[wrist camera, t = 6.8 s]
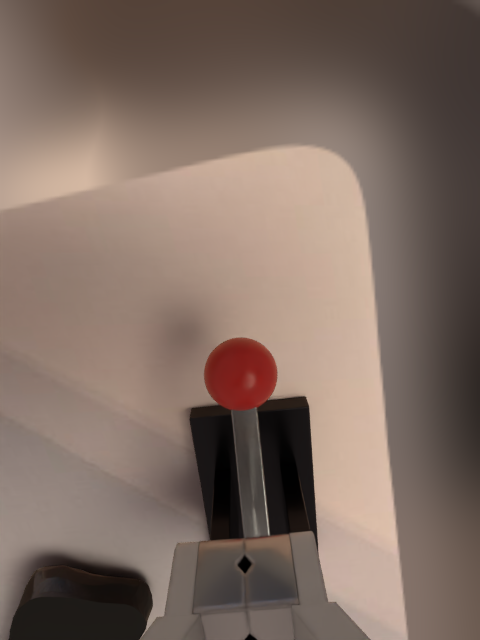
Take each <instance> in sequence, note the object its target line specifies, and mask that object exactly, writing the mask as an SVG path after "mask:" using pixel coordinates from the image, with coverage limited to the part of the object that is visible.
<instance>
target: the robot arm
mask: <svg viewBox="0 0 480 640" xmlns="http://www.w3.org/2000/svg"><path fill="white" fill-rule="evenodd" d="M140 640H370V639H369V638H368V637H367V635H366V634H365V633H364V632H363V631H362V630H361V629H360V628H359V627H358V626H357V625H356V624H355V622H354V621H353V620H352V619H351V618H350V617H349V616H348V615H347V614H346V613H345V612H344V611H343V609H342V608H341V607H340V606H339V605H338V604H337V603H336V602H328V599H327V594H326V589H325V584H324V580H323V575H322V570H321V565H320V560H319V556H318V551H317V546H316V541H315V537H314V534H313V532H312V531H306V532H296V533H290V534H289V533H284V534H274V535H264V536H255V537H245V538H240V539H225V540H209V541H199V542H185V543H177V545H176V548H175V550H174V557H173V563H172V570H171V576H170V582H169V589H168V595H167V601H166V608H165V614H164V617H157V618H156V619H155V621H154V622H153V623H152V625H151V626H150V627H149V629H148V630H147V631H146V632H145V634H144V635H143V636H142V638H141V639H140Z"/></svg>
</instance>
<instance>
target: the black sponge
mask: <svg viewBox="0 0 480 640" xmlns="http://www.w3.org/2000/svg"><path fill="white" fill-rule="evenodd" d="M152 607H153V600H152V594H151V592H150V589H149V586H148V585H147V584H146V583H145V582H142V581H140V580H138V579H131V578H123V577H110V576H101V575H96V574H91V573H88V572H85V571H83V570H80V569H75V568H71V567H68V566H65V565H59V566H48V567H43V568H39V569H37V570H36V571H35V572H34V573H33V575H32V576H31V578H30V580H29V582H28V584H27V585H26V587H25V590H24V593H23V596H22V599H21V602H20V604H19V607H18V609H17V611H16V613H15V615H14V617H13V621H12V625H11V629H10V636H9V640H139V639H140V638H141V636H142V634H143V633H144V631H145V629H146V625H147V620H148V618H149V615H150V612H151V610H152Z"/></svg>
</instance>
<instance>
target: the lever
mask: <svg viewBox="0 0 480 640" xmlns="http://www.w3.org/2000/svg"><path fill="white" fill-rule="evenodd" d="M204 380H205V384H206V388H207V390H208V392H209V394H210V395H211V397H212V398H213V399H214V400H215V401H216V402H217V403H218V404H219V405H221V406H222V407H224V408H226V409H229V410H231V414H232V424H233V434H234V444H235V455H236V465H237V475H238V485H239V495H240V505H241V515H242V525H243V535H244V538H245V537H255V536H264V535H270V526H269V517H268V507H267V498H266V488H265V479H264V469H263V460H262V450H261V441H260V431H259V422H258V412H257V407H259V406H261V405H262V404H263V403H265V402H266V401H267V400H268V399H269V397H270V396H271V395H272V393H273V391H274V389H275V386H276V382H277V366H276V363H275V360H274V358H273V356H272V354H271V353H270V352H269V350H268V349H267V348H266V347H265V346H263V345H262V344H261V343H259V342H257V341H255V340H252V339H249V338H233V339H229V340H227V341H225V342H223V343H221V344H219V345H218V346H217V347H216V348H215V349H214V350H213V351H212V352H211V354H210V355H209V357H208V359H207V362H206V365H205V369H204Z"/></svg>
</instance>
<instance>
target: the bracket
mask: <svg viewBox="0 0 480 640" xmlns="http://www.w3.org/2000/svg"><path fill="white" fill-rule="evenodd" d="M257 412H258V422H259V431H260V441H261V450H262V460H263V469H264V479H265V488H266V498H267V507H268V517H269V526H270V535H274V534H284V533H289V534H290V533H296V532H306V531H312V532H313V534H314V537H315V541H316V546H317V551H318V539H317V523H316V507H315V492H314V476H313V460H312V445H311V429H310V413H309V405H308V402H307V399H306V397H299V398H289V399H279V400H269V401H266V402H265V403H263V404H262V405H261V406H259V407H257ZM190 425H191V431H192V437H193V442H194V448H195V454H196V460H197V466H198V472H199V478H200V483H201V489H202V495H203V501H204V507H205V513H206V519H207V524H208V530H209V536H210V540H225V539H240V538H244V535H243V525H242V515H241V505H240V495H239V485H238V475H237V465H236V455H235V444H234V434H233V424H232V414H231V410H229V409H226V408H224V407H222V406H221V405H219V406H209V407H200V408H192V409H191V414H190ZM318 556H319V555H318Z"/></svg>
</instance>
